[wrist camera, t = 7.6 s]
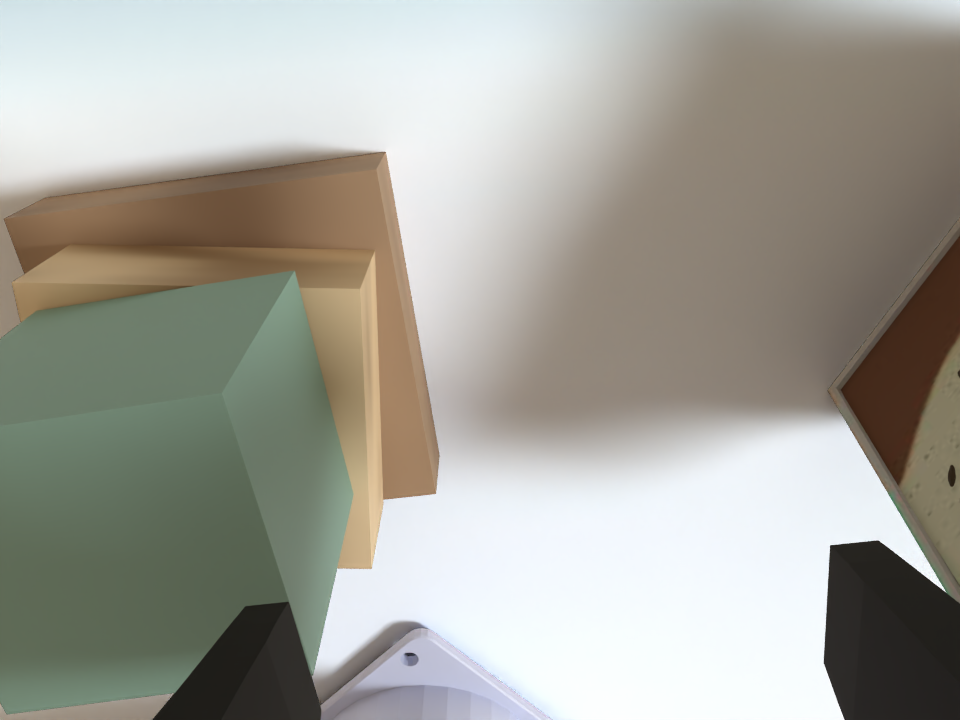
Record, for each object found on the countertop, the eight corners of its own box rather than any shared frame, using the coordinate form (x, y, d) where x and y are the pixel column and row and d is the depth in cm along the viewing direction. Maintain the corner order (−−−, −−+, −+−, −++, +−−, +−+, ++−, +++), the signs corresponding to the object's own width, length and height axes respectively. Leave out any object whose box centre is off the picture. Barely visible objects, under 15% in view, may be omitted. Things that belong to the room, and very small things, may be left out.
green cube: (124, 526, 18) (6, 714, 13) (36, 310, 16) (-139, 446, 11) (353, 494, 18) (313, 674, 13) (294, 270, 16) (222, 392, 11)
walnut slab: (155, 474, 23) (120, 528, 21) (58, 191, 20) (4, 219, 18) (440, 442, 23) (435, 493, 21) (388, 146, 20) (376, 169, 17)
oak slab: (118, 499, 21) (74, 564, 18) (70, 244, 18) (11, 282, 16) (383, 504, 21) (371, 568, 18) (375, 249, 18) (360, 289, 16)
